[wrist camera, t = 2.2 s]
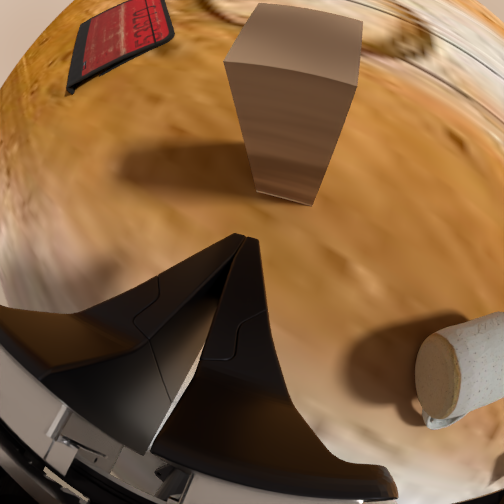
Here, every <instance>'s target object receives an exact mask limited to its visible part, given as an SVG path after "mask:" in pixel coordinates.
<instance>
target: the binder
mask: <svg viewBox="0 0 504 504" xmlns="http://www.w3.org/2000/svg"><path fill="white" fill-rule="evenodd" d="M174 34H175V33H174V29H173V26H172V23H171V19H170V16H169V13H168V10H167V7H166V3H165V0H128V1H126V2H123V3H121V4H119V5H117V6H115V7H112V8H110V9H108V10H106V11H104V12H102V13H100V14H98V15H96V16H94V17H92V18H90V19H89V20H87V21H86V22H84V23H82V24H81V25H80V28H79V31H78V35H77V39H76V43H75V47H74V52H73V56H72V61H71V66H70V71H69V76H68V82H67V87H66V89H67V91H68V92H69V93H71V94H72V95H73V94H74V91H75V90H74V89H75V86H76V83H78V82H80V81H82V80H84V79H85V78H87V77H88V78H89V77H92V76H93V75H94V74H96V73H97V72H99V71H101V70H102V69H104V68H108V69H107V70H105V71H104V72H103V73H101V74H100V75H99V76H101V75H103V74H105V73H107V72H109V71H111V70H112V69H114V68H116V67H118V66H120V65H122V64H124V63H126V62H127V61H129V60H131V59H133V58H135V57H137V56H140V55H142V54H144V53H146V52H148V51H150V50H152V49H154V48H156V47H158V46H161V45H163V44H165V43H167V42H169V41H170V40H171V39H172V38H173V37H174ZM109 67H110V68H109Z"/></svg>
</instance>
